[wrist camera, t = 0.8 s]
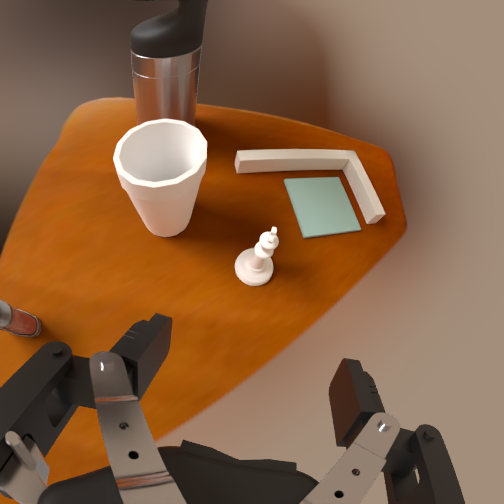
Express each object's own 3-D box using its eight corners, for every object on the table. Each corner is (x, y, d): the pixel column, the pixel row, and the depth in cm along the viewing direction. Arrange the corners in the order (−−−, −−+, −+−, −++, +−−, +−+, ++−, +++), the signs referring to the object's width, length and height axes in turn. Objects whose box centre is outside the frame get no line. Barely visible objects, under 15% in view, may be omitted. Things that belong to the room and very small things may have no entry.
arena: (234, 163, 43) (237, 150, 40) (347, 161, 48) (354, 150, 46) (255, 245, 38) (260, 234, 35) (378, 228, 43) (388, 219, 41)
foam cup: (137, 254, 34) (114, 196, 22) (130, 195, 37) (113, 128, 26) (209, 239, 37) (217, 176, 25) (194, 183, 40) (198, 114, 28)
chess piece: (276, 257, 38) (303, 219, 29) (266, 291, 36) (292, 262, 27) (241, 244, 37) (257, 202, 29) (229, 278, 35) (242, 243, 26)
